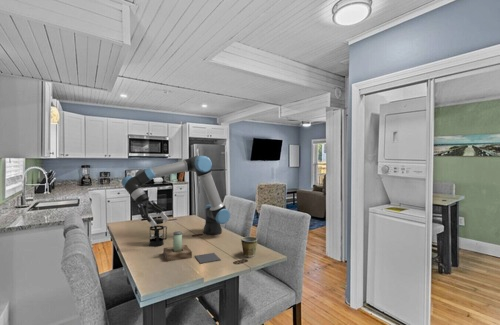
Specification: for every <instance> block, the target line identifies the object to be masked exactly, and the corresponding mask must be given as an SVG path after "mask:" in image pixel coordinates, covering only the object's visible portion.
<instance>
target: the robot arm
mask: <svg viewBox="0 0 500 325" xmlns="http://www.w3.org/2000/svg"><path fill="white" fill-rule="evenodd" d="M212 167H213V164H212V160H211V159H210V157H208V156H206V155H194V156H191V157H189V158H185V159H182V161H178V162H174V163H169V164H163V165H160V166H154V167H147V168H146V169H140V170H137V171H136V172H135V174H134V176H132V175H127V176H124V177H123V179H121V185H122V187H123V188H124V189H125V191H126V192H127V193H128V194H129V195H130V197H131V198H132V199H133V201H135V203H136V204H137V205H136V207H137V209H138V211H139V213H140V217H141V219H143V220H146V221H147V222H148V224H150V227H151V226H152V227H154V226H157V224H156V223H155V221H154V220H153V219H154V218H153V217H152V216H151V215H149V210H153V212H154V211H156V212H158V214H159V216H160V217H161V219H163V222H165V223H166V222H167V221H169V216H167V215H166V214H165V212H164V211H165V210H164V208H163V207H162V206H160V205H159V204H157V203H156V202H155V200H153V199H152V200H151V201H150V197H149V196H148V194H147V193H146V191H144V189H143V188H142V186H144V185H145V184H147V183H148V182H150V181H151V180H153V179H157V178H161V177H165V176H169V175H174V174H178V173H183V172H186V173H187V172H195V174H196V176H197V178H200V179H199V180H200V181H201V184H202V186H203V189H204V192H205V194H206V197H207V200H208V203H209V204H206V205H205V209H204V210H205V223H204V226H203V229H202V234H204V235H207V236H217V235H221V234H222V232H223V229H222V225H224V224H227V223H228V222H229V220H230V219H231V212H230V211H229V210H228V209H227V208H226V205H225V203H224V202H222V199H221V197H220V193H219V191H218V189H217V187H216V184H215V180H214V178H213V175H212V172H213V169H212ZM156 212H155V213H156ZM167 223H168V222H167Z"/></svg>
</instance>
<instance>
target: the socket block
mask: <svg viewBox="0 0 500 325" xmlns="http://www.w3.org/2000/svg"><path fill="white" fill-rule="evenodd" d="M163 255H164V257H165V261H166V262H175V261H181V260H186V259H192V258H193V251H192V250H191V248H189V246H188V245H187V244H182V251H178V252H173V246H170V247H168V246H167V247H163Z"/></svg>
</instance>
